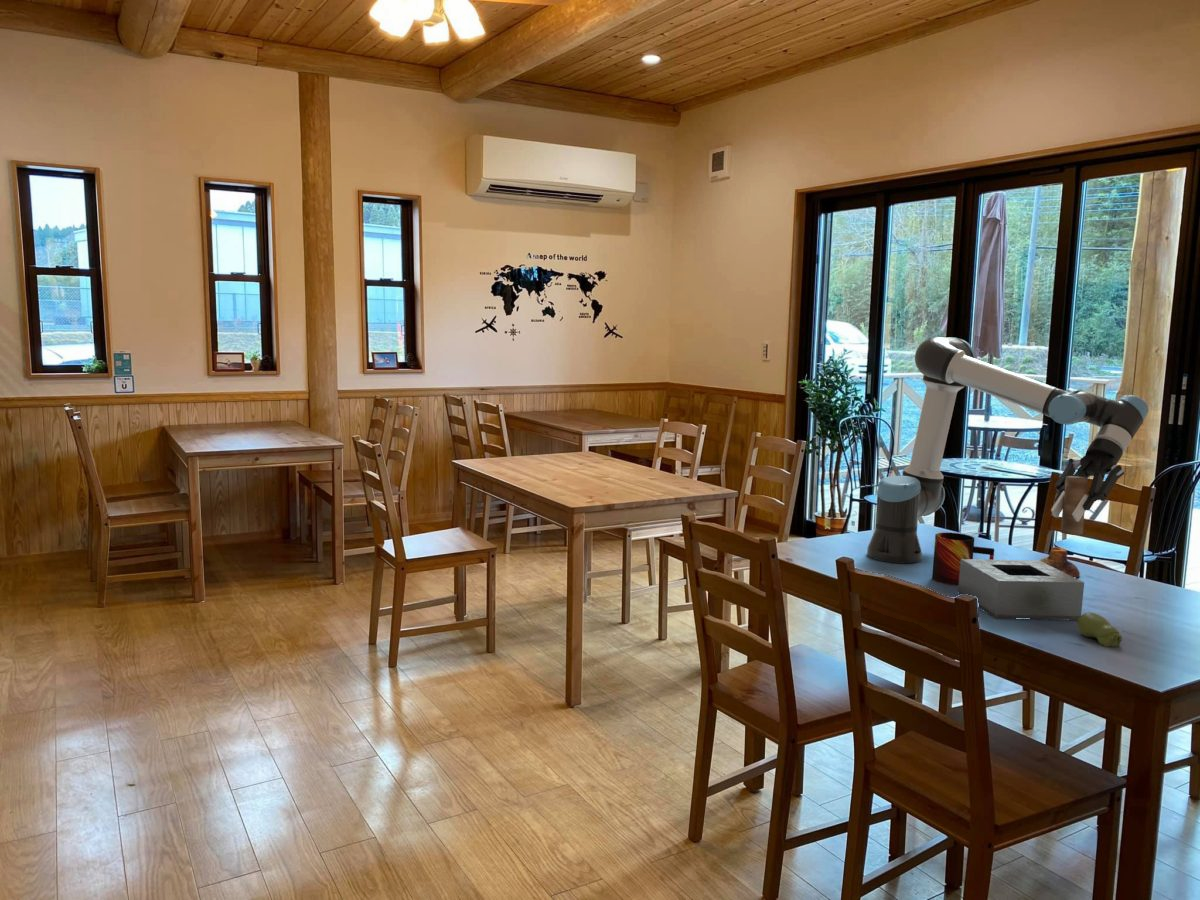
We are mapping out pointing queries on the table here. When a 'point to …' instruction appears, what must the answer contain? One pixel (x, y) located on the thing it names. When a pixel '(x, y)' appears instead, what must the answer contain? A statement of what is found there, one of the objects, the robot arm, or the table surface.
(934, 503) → the robot arm
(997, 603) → the box
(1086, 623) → the pear
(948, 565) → the mug
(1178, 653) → the table surface
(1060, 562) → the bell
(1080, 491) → the peg
